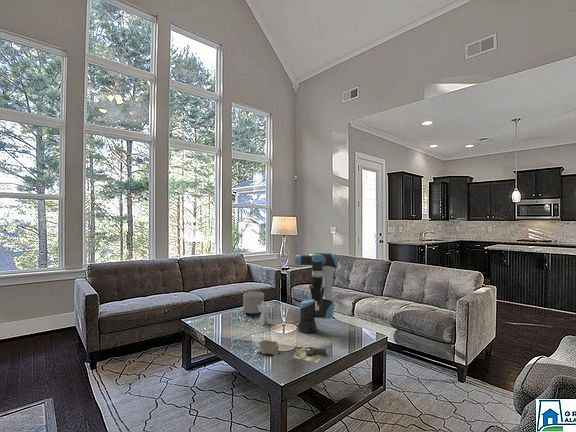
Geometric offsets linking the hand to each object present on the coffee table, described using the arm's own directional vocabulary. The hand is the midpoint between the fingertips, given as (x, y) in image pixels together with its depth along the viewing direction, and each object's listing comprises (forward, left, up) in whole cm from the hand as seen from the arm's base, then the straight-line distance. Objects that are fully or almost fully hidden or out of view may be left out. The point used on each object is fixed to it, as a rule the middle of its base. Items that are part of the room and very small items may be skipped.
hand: (317, 309), depth 224 cm
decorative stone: (-23, -28, -25) cm, 44 cm away
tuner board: (+3, -19, -24) cm, 31 cm away
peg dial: (+3, -19, -23) cm, 30 cm away
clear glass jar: (-56, +23, -25) cm, 65 cm away
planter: (-80, +42, -25) cm, 94 cm away
